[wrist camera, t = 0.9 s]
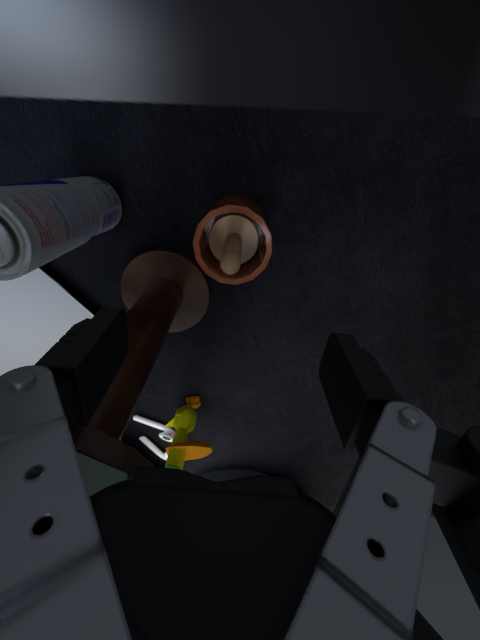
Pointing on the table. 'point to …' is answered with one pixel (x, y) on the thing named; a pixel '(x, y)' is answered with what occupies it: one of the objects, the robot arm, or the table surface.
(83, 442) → the brown pedestal stand
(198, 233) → the holder
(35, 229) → the beverage can
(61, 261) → the table surface
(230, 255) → the beige plunger
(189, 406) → the toy figure
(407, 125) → the table surface
